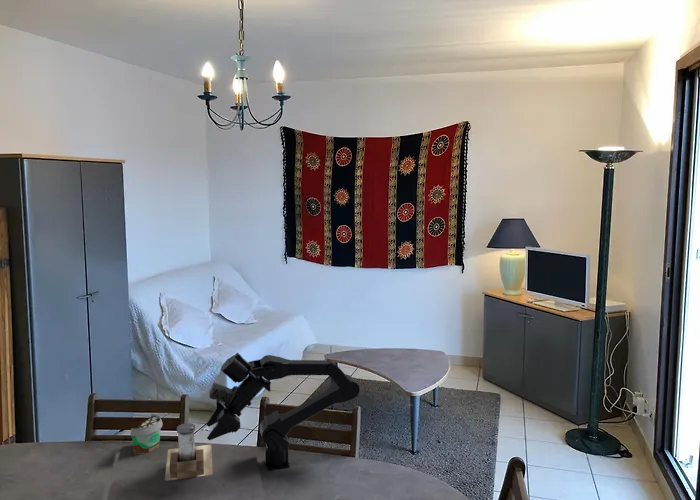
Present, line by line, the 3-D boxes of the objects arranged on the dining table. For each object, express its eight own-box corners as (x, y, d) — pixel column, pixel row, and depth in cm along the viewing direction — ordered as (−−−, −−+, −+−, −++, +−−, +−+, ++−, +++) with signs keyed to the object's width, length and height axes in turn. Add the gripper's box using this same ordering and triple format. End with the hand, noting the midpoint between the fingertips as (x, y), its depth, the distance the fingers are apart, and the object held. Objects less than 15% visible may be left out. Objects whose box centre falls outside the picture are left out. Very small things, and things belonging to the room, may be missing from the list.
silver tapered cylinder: (196, 464, 166) (195, 422, 164) (196, 473, 161) (195, 429, 160) (178, 466, 165) (177, 424, 163) (178, 475, 160) (176, 431, 158)
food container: (150, 462, 170) (148, 431, 169) (131, 460, 171) (130, 429, 170) (170, 444, 182) (169, 414, 181) (153, 442, 183) (152, 412, 182)
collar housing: (211, 449, 179) (210, 432, 178) (212, 479, 161) (212, 461, 160) (168, 454, 176) (167, 437, 175) (164, 485, 157) (164, 467, 157)
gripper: (224, 364, 172) (187, 402, 170) (227, 386, 154) (186, 429, 152) (250, 387, 175) (214, 425, 173) (256, 411, 157) (216, 453, 155)
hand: (207, 432), depth 163 cm, fingers open, 9 cm apart
